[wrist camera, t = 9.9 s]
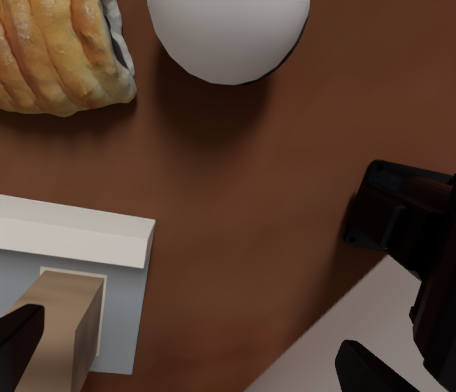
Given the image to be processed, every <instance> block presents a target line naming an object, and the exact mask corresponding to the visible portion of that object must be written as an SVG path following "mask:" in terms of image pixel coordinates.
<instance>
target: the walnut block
mask: <svg viewBox="0 0 456 392" xmlns="http://www.w3.org/2000/svg"><path fill="white" fill-rule="evenodd" d="M103 286H104V278H99V277H92V276H84V275H77V274H69V273H62V272H54V271H47V270H45V271H44V272H43V273H42V274H41V275H40V276H39V278H38V279H37V280H36V281H35V282H34V283H33V284H32V285H31V286H30V287H29V288H28V289H27V290H26V292H25V293H24V294H23V295H22V296H21V297H20V298H19V299H18V300H17V301H16V302H15V303H14V304H13V306H12V307H11V308H10V309H9V310H8V311H7V312H6V313H5V314H4V315H6V314H8V313H10V312H12V311H14V310H16V309H18V308H19V307H21V306H23V305H25V304H28V303H33V304H41V305H43V306H44V307H45V324H44V333H43V336H42V338H41V340H40V342H39V344H38V346H37V348H36V350H35V352H34V354H33V356H32V358H31V360H30V362H29V364H28V366H27V368H26V370H25V372H24V374H23V376H22V378H21V380H20V382H19V383H18V385H17V387H16V389H15V391H14V392H80V391H81V389H82V386H83V384H84V382H85V379H86V377H87V375H88V372H89V370H90V367H91V365H92V363H93V360H94V358H95V356H96V353H97V344H98V334H99V324H100V315H101V305H102V296H103ZM4 315H3V316H4ZM3 316H2V317H3Z"/></svg>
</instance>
